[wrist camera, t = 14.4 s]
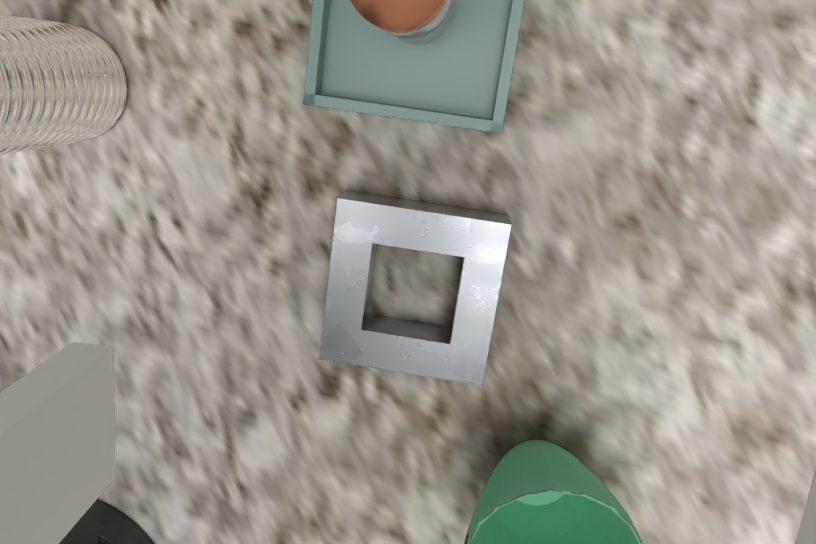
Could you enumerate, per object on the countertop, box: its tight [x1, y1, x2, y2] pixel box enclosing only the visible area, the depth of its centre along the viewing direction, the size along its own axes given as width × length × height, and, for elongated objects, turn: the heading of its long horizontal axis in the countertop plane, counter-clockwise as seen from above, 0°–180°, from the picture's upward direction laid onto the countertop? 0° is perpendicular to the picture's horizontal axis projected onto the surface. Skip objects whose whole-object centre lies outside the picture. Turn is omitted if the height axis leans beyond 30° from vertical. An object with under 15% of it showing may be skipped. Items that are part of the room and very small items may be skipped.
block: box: [319, 190, 511, 385], centre depth 43 cm, size 10×10×3 cm
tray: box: [303, 0, 524, 133], centre depth 39 cm, size 11×12×2 cm
